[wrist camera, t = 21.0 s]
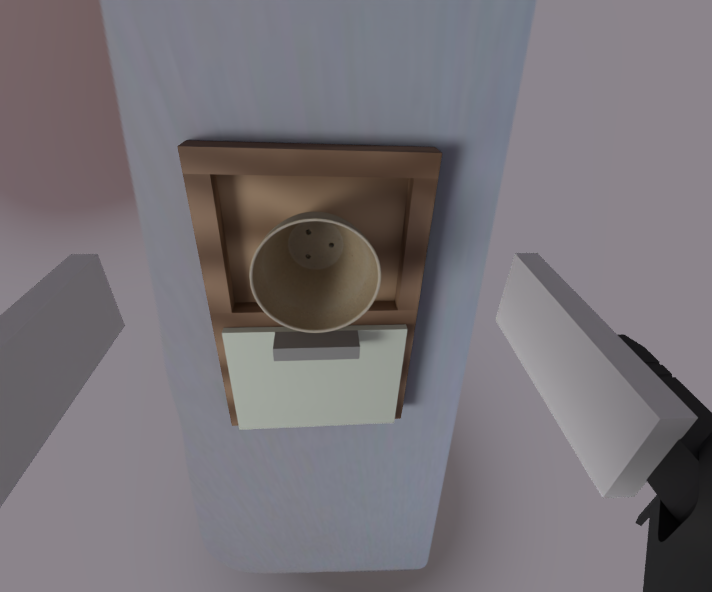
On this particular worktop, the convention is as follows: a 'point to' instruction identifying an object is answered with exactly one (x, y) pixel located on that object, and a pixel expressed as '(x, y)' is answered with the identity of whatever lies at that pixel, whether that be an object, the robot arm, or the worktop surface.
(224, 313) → the wooden box
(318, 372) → the lid
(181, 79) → the worktop surface
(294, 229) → the flower pot
